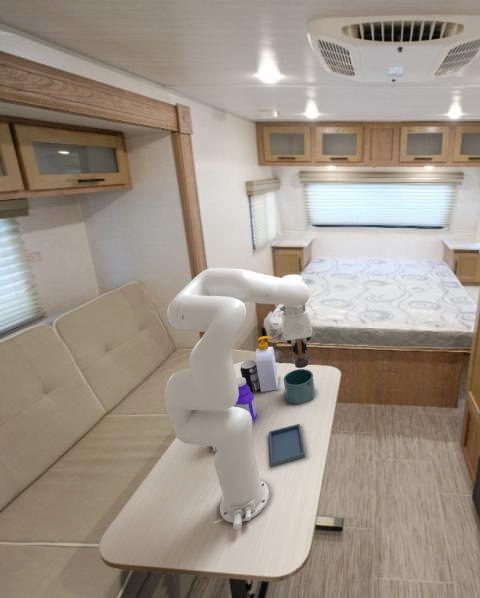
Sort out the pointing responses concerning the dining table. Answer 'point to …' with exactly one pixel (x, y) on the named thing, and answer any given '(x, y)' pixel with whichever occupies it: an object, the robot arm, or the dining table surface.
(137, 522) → the dining table surface
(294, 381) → the canister
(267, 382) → the soap bottle
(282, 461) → the dish
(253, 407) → the bottle
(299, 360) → the scrub brush
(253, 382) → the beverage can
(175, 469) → the dining table surface
